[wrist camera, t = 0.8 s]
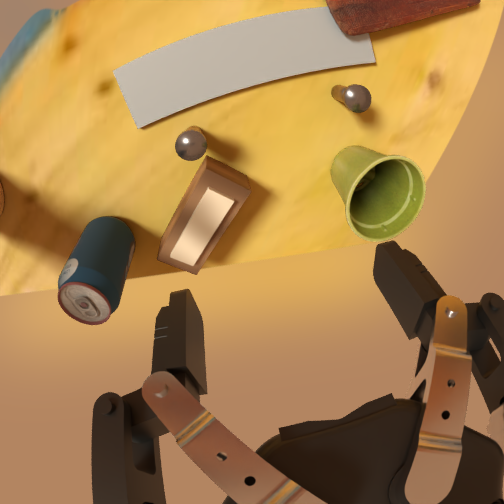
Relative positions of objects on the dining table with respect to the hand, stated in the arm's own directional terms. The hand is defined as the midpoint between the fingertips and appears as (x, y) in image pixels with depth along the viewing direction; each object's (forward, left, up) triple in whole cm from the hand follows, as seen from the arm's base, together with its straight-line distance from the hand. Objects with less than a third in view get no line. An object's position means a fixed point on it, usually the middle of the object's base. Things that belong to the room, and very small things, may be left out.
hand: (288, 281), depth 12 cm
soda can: (-19, -5, -21) cm, 29 cm away
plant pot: (+12, -7, -21) cm, 25 cm away
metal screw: (-4, +2, -21) cm, 22 cm away
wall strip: (+4, +9, -21) cm, 23 cm away
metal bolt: (+12, +2, -21) cm, 24 cm away
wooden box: (-7, -6, -21) cm, 23 cm away
